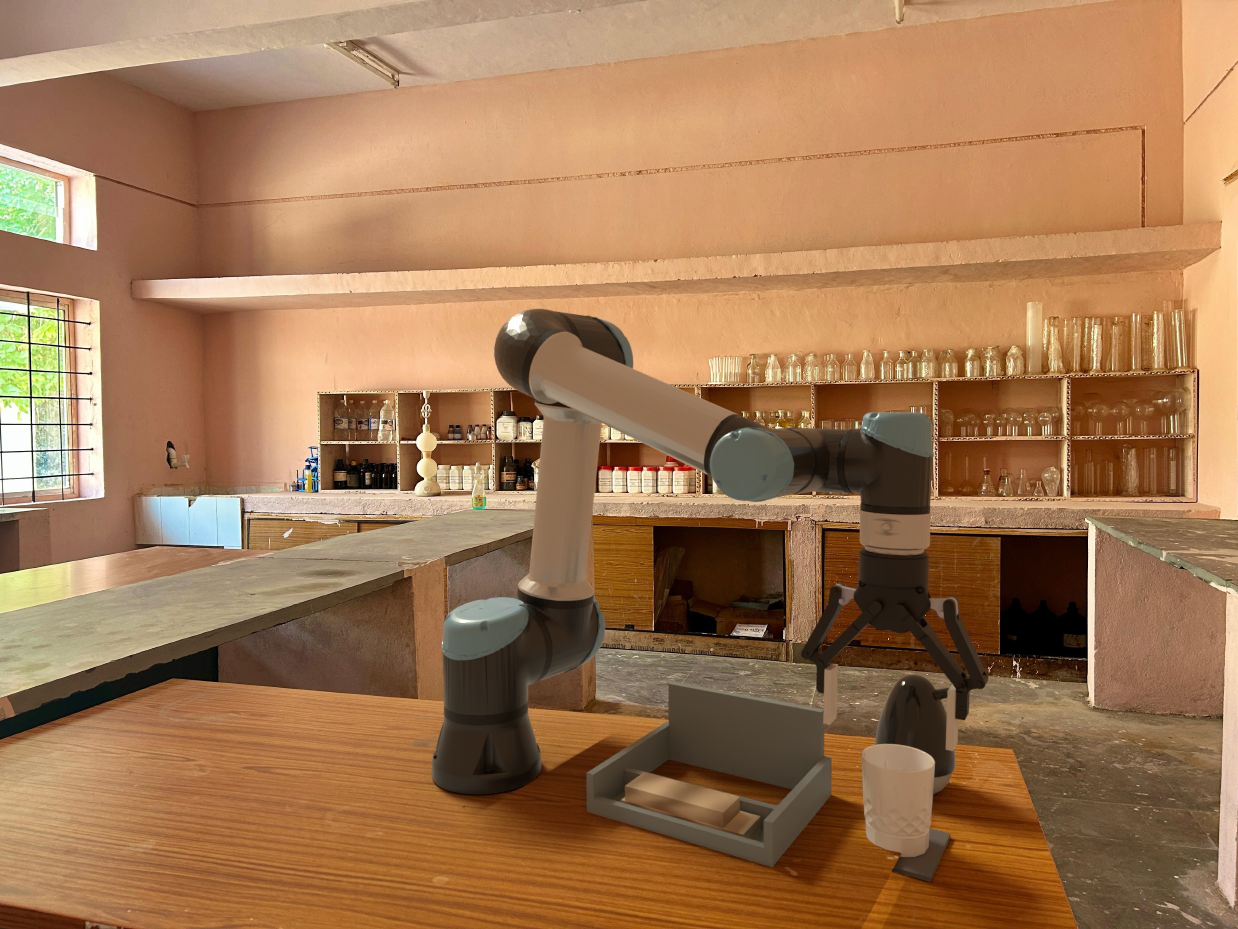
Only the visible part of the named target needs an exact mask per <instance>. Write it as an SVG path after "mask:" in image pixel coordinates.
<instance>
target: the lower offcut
mask: <svg viewBox="0 0 1238 929" xmlns="http://www.w3.org/2000/svg"><path fill="white" fill-rule="evenodd" d="M621 802H622V803H625V804H629V805H632V806H636V807H639V808H643V809H647V810H650V811H654V812H657V813H661V814H664V815H668V816H671V817H675V818H678V819H682V820H685V821H689V822H692V823H696V824H699V825H703V826H706V827H710V828H713V829H717V830H720V831H724V832H727V833H731V834H734V835H738V836H741V837H745V838H748V839H752V840H753V839H754V838H755V837H756V836H757V835H758V834H759V833H760V832H761V816H758V815H754V814H750V813H747V812H743V811H740V812H739V813H738V814H737V815H736V816H735V817H734V818H733V819H732V820H731V821H730V822H729V823H728V824H727V825H726V826H725V827H724V828H721V827H717V826H714V825H710V824H707V823H703V822H699V821H696V820H692V819H689V818H685V817H682V816H678V815H675V814H671V813H668V812H664V811H661V810H657V809H653V808H650V807H646V806H643V805H639V804H636V803H632V802H629V801H625V797H624V798H623V799H621Z"/></svg>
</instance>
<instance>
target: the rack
mask: <svg viewBox="0 0 1238 929" xmlns="http://www.w3.org/2000/svg"><path fill="white" fill-rule="evenodd" d="M667 691H668V721H665V722H664V723H662V724H660V725H659V726H657V727H656V728H654V729H652V730H651V731H649V732H648V733H646V734H645V735H643V736H642V737H640V738H638V739H637V740H636V741H634V742H633V743H631V744H629V745H628V746H626V747H624V748H623V749H621V750H619V751H618V752H617V753H615V754H614V755H612V756H610V757H609V758H607V759H606V760H604V761H603V762H601V763H599V764H598V765H596V766H595V767H593V768H592V769H590V770H589V771H587V772H586V779H585V780H586V812H587V813H590V814H593V815H597V816H600V817H604V818H607V819H610V820H614V821H617V822H620V823H622V824H626V825H630V826H634V827H637V828H640V829H643V830H646V831H649V832H653V833H657V834H660V835H663V836H666V837H670V838H673V839H676V840H680V841H682V842H686V843H690V844H694V845H697V846H700V847H703V848H707V849H710V850H713V851H717V852H719V853H722V854H727V855H730V856H734V857H736V858H740V859H743V860H747V861H749V862H753V863H756V864H760V865H764V866H767V867H770V868H773V867H774V866H775V865H776V864H777V862H779V860H780V859H781V858H782V856H783V855H784V854H785V853H786V851H788V848H790V846H791V845H792V844H793V843H794V842H795V840H796V839H797V837H798V836H800V834H801V833H802V831H803V830H804V829H805V828H806V827H807V826H808V824H809V823H810V822H811V821H812V819H814V817H815V816H816V814H818V812H819V811H820V809H821V808H822V807H823V806H824V804H825V803H826V802H827V801H828V799H829V798H830V797H831V796H832V788H833V787H832V783H833V780H832V779H833V777H832V775H833V774H832V773H833V772H832V771H833V770H832V768H833V766H832V764H833V763H832V762H833V761H832V760H833V759H832V758H833V757H831V756H827V755H825V724H823V714H824V708H817V707H813V706H808V705H803V704H796V703H791V702H785V701H781V700H775V699H771V698H770V699H769V698H764V697H759V696H758V697H757V696H753V695H749V694H748V695H747V694H742V693H739V692H738V693H737V692H731V691H726V690H720V689H715V688H709V687H704V686H699V685H694V684H688V683H682V682H677V681H674V680H673V681H670V682H669V683H668V690H667ZM668 761H674V762H677V763H682V764H685V765H690V766H694V767H699V768H703V769H707V770H711V771H715V772H719V773H722V774H723V773H724V774H727V775H731V776H735V777H739V778H743V779H747V780H748V779H749V780H751V781H756V782H761V783H763V784H768V785H773V786H777V787H781V788H785V789H789V790H791V791H790V792H788V794H787V795H786V796H784V798H783V799H782V800H781V801H780V802H779V803H778V804H772V803H768V802H764V801H760V800H756V799H752V798H749V797H745V796H740V795H737V794H733V793H729V792H727V791H726V792H725V791H722V790H721V791H720V790H717V789H715V788H710V787H705V786H702V785H699V784H694V783H690V782H687V781H682V780H678V779H674V778H671V777H667V776H663V775H659V774H655V773H653V772H654V770H656V769H658V768H659V767H660V766H661V765H663V764H664V763H665V762H668ZM644 772H646V773H649V774H653V775H657V776H661V777H665V778H669V779H673V780H677V781H681V782H684V783H688V784H692V785H696V786H700V787H704V788H708V789H712V790H716V791H719V792H723V793H727V794H731V795H735V796H739V797H740V811H743V812H747V813H750V814H754V815H758V816H761V832H760V833H759V834H758V835H757V836H756V837H755V838H754V839H753V840H752V839H748V838H745V837H741V836H738V835H734V834H731V833H727V832H724V831H720V830H717V829H713V828H710V827H706V826H703V825H699V824H696V823H692V822H689V821H685V820H682V819H678V818H675V817H671V816H668V815H664V814H661V813H657V812H654V811H650V810H647V809H643V808H639V807H636V806H632V805H629V804H625V803H622V802H621V799H623V798H624V797H625V785H627V784H628V783H630V782H631V781H633V780H634V779H635V778H637V777H638V776H640V775H641V774H642V773H644Z"/></svg>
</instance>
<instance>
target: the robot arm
mask: <svg viewBox="0 0 1238 929" xmlns="http://www.w3.org/2000/svg"><path fill="white" fill-rule="evenodd" d="M493 348H494V349H493V350H494V353H493V356H494V361H495V365H496V368H497V369H496V370H497V371H498V373H499V375H500V376H501V378H502V379H503V380H504V381H505V382H506V384H508V386H510V387H512V388H513V389H514V390H516V391H518V392H520V393H522V394H524V395H526V396H528V397H531V398H532V399H534V406H535V407H536V408H537V409H538V411H539V412H540V413H541V414H542V417H543V423H542V432H541V433H542V434H541V442H540V443H541V444H540V455H539V463H538V464H539V465H538V466H539V467H538V474H537V475H538V477H537V487H536V497H535V507H534V508H535V509H534V518H533V527H532V540H531V551H530V559H529V560H530V561H529V572H528V574H527V575H525V577H523V578H522V579H520V581H519V582H518V584H517V592H516V593H517V594H516V598H514V597H508V596H507V597H505V596H501V597H500V596H499V597H497V596H496V597H489V598H488V599H483V598H482V599H477V600H473V601H469V602H467V603H464V604H462V605H459V606H457V607H455V608H454V609H453V610H451V611H450V612H449V613H448V614H447V616H446V617H445V619H444V622H443V629H442V630H443V632H442V633H443V634H442V640H441V645H440V646H441V651H442V674H443V675H442V676H443V680H442V681H443V682H442V683H443V722H442V725H441V728H440V730H439V731H440V732H439V735H438V738H437V743H436V747H435V751H434V752H433V755H432V758H431V779H432V781H433V782H434V784H436V785H437V786H438V787H440V788H442V789H444V790H446V791H449V792H451V793H452V792H453V793H458V794H464V795H465V794H466V795H489V794H491V795H492V794H498V793H504V792H509V791H512V790H515V789H518V788H521V787H524V786H526V785H528V784H529V783H531V782H532V781H534V780H536V779H537V777H538V776H539V775H540V774H541V770H542V752H541V749H540V746H539V744H538V743H537V740H536V736H535V732H534V729H533V726H532V723H531V719H530V716H529V686H531V685H533V684H536V683H538V682H541V681H544V680H547V679H549V678H552V677H554V676H557V675H560V674H563V673H564V674H566V673H569V672H571V671H575V670H577V669H578V668H579V667H581V666H582V665H584V664H586V663H588V662H589V661H591V660H592V659H593V658H594V657H595V656H596V654H597V653H598V652H599V650H600V649H601V647H602V644H603V642H604V639H605V632H606V621H605V616H604V613H603V612H602V611H601V610H600V608H601V605H600V603H599V602H598V601H597V599H596V598H595V597H594V596H595V587H593V586H592V584H591V583H590V582H589V581H588V580H587V568H588V567H587V566H588V558H589V557H588V556H589V551H590V550H589V548H590V541H591V540H590V539H591V528H592V518H593V511H594V510H593V509H594V499H595V490H596V489H595V488H596V482H597V480H596V479H597V472H598V464H599V453H600V452H599V451H600V441H601V433H602V424H603V425H605V426H607V427H609V428H611V429H613V430H615V431H617V432H619V433H621V434H624V435H625V436H627V437H629V438H632V439H634V440H636V441H638V442H640V443H642V444H644V445H646V446H648V447H650V448H651V449H652V448H653V449H654V450H656V451H658V452H661V453H662V454H664V455H667V456H668V457H671V458H672V459H674V460H677V461H679V462H681V463H683V464H685V465H687V466H688V467H691V468H692V469H695V470H697V471H700V472H701V473H704V474H705V475H707V476H709V477H711V478H712V480H713V482H714V483H715V484H716V486H717V487H718V489H719V490H720V491H721V493H723V495H725V496H727V497H728V498H730V499H733V500H736V501H741V502H752V503H759V502H760V503H761V502H764V501H765V502H766V501H769V500H772V499H775V498H781V497H785V496H795V495H800V494H801V495H802V494H806V493H812V492H813V493H815V492H816V493H820V492H821V493H839V494H848V495H849V494H852V495H855V494H859V496H860V497H859V498H860V506H859V508H860V509H859V510H860V511H859V512H860V513H859V543H860V544H861V545H862V546H864V547H862V548H861V549H860V550H858V551H859V552H858V577H857V578H858V582H857V583H858V584H857V587H856V588H853V587H848V586H846V584H845V583H843V582H839V583H837V584H835V585H833V586H831V588H830V590H829V594H828V603H827V606H826V607H825V609H824V611H823V612H822V614H821V616H820V617H819V620H818V622H817V623H816V625H815V626H814V629H813V630H812V632H811V634H810V636H809V637H808V639H807V641H806V643H805V645H804V647H803V648H802V650H801V651H800V652H801V653H800V656H801V658H802V659H803V660H806V661H807V660H808V661H810V662H812V663H814V665H815V667H816V682H815V683H816V685H815V686H816V687H815V688H816V691H817V693H819V694H823V709H824V714H823V724H824V725H827V726H828V725H829V726H830V725H831V724H832V723H833V722H834V721H835V720H836V719H837V716H838V714H837V713H838V684H839V683H838V680H839V679H838V678H839V677H838V676H839V664H837V663H836V664H835V663H831V662H832V661H833V660H834V658H836V657H837V656H838V655H839V654H840V653H841V652H842V651H843V650H844V649H845V648H846V647H847V646H848V645H849V644H850V643H851V642H852V641H853V640H854V639H855V638H856V637H857V636H858V635H859V634H860V633H861V632H862V631H863V630H864V629H866V627H867V626H869V625H870V626H871V627H872V628H873V629H874V630H875V631H883V632H885V631H890V632H893V633H895V634H901V635H904V634H905V633H909V632H910V633H911V634H912V635H913V637H914V638H915V639H916V641H919V643H920V644H921V645H922V647H924V649H925V650H926V652H927V653H928V654H929V656H930V657H931V658H932V659H933V661H934V662H935V664H937V666H938V667H939V669H940V670H941V672H942V673H943V674H944V675H945V676H946V678H947V679H948V681H949V682H950V683H951V685H950V688H949V687H948V688H949V690H948V695H947V698H946V699H947V700H946V701H947V702H946V712H947V725H946V750H950V751H953V750H954V748H956V746H957V745H958V742H959V720H960V721H966V719H967V717H968V715H969V713H970V697H971V696H970V694H971V693H970V691H973V690H983V689H984V688H985V687H986V685H987V684H988V681H989V675H988V672H987V671H986V669H985V667H984V664H983V662H982V660H981V658H980V656H979V654H978V652H977V650H976V647H975V645H974V643H973V641H972V639H971V637H970V635H969V633H968V631H967V628H966V626H965V625H964V621H963V620H962V617H961V612H960V602H959V598H958V597H957V596H954V595H951V596H949V597H945V598H943V597H942V598H941V597H938V598H937V597H935V598H934V597H931V595H930V591H929V573H930V571H929V570H930V555H929V554H928V553H927V552H926V551H925V550H926V549H927V548H929V547H930V545H931V542H930V541H931V498H932V497H931V494H932V479H933V478H932V477H933V476H932V475H933V473H932V472H933V458H934V456H935V454H934V451H933V428H932V427H933V425H932V424H933V423H932V420H931V418H930V417H929V416H928V415H927V414H925V413H923V412H907V411H906V412H902V411H901V412H899V411H897V412H894V411H891V412H890V411H887V412H885V411H883V412H881V411H879V412H872V411H871V412H866V414H864V415H863V417H862V423H861V425H860V428H850V429H840V428H839V429H837V428H815V427H814V428H813V427H802V426H801V427H800V426H795V427H793V426H792V427H791V426H789V427H788V426H787V427H783V428H781V427H780V428H778V427H777V428H772V427H768V426H765V425H763V424H761V423H759V422H757V421H755V420H752V419H750V418H748V417H744V416H742V415H739V413H737V412H733V411H731V410H729V409H726V408H725V407H722V406H720V405H718V404H716V403H713V402H711V401H708V400H706V399H704V398H701V397H699V396H696V395H694V394H692V393H690V392H687V391H685V390H683V389H681V388H678V387H676V386H674V385H671V384H669V383H666V382H664V381H663V380H659V379H657V378H655V377H653V376H650V375H648V374H646V373H644V372H641V371H640V370H637V369H635V368H634V355H633V349H632V346H631V344H630V341H629V340H628V338H627V336H626V335H625V334H624V333H623V331H622V329H620V328H619V327H618V326H617V325H616V324H614V323H612V322H610V321H608V320H605V319H602V318H599V317H597V316H592V315H590V314H589V315H583V314H575V313H569V312H563V311H562V312H561V311H556V310H554V311H553V310H550V309H545V308H533V309H531V308H530V309H526V310H523V311H520V312H517V313H516V314H515V315H512V316H511V317H509V319H507V321H506V322H505V323H504V324H503V325H502V326H501V328H500V329H499V331H498V333H497V335H496V338H495V342H494V346H493ZM851 600H854V602H855V604H856V605H857V607H858V609H859V610H860V611H861V614H860V615H859V616H858V617H857V618H856V619H855V620H854V621H853V622H851V624H850V625H849V626H847V628H846V629H845V630H844V631H843V632H842V633H841V634H839V635H838V636H837V638H836V639H835V640H834V641H833V642H832V643H831V644H830V645H829V646H828V647H826V649H824V651H822V650H820V648H821V647H822V644H823V643H824V641H825V639H826V637H827V635H828V633H829V632H830V630H831V629H832V627H833V625H834V623H835V621H836V620H837V618H838V616H839V614H840V613H841V611H842V609H843V606H845V605H848V604H849V603H850V602H851ZM931 609H933V610H934V611H935V612H936V614H937V616H938V617H939V618H941V619H943V620H944V624H945V627H946V629H947V631H948V633H949V636H950V638H951V641H953V644H954V646H955V648H956V650H957V653H958V655H959V656H960V659H961V662H962V664H963V666H964V668H965V669H966V671H965V670H964V669H963V668H962V666H961V665H960V664H959V662H958V661H957V660H956V658H955V657H954V656H953V655H952V653H951V652H950V651H949V650H948V648H947V647H946V645H945V644H944V643H943V641H942V640H941V639H940V637H938V635H937V634H936V633H935V631H934V629H933V627H932V625H931V624H930V623H929V622H928V619H927V618H926V617H925V616H926V615H927V614H928V613H929V612H930V611H931ZM966 672H967V673H966Z"/></svg>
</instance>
